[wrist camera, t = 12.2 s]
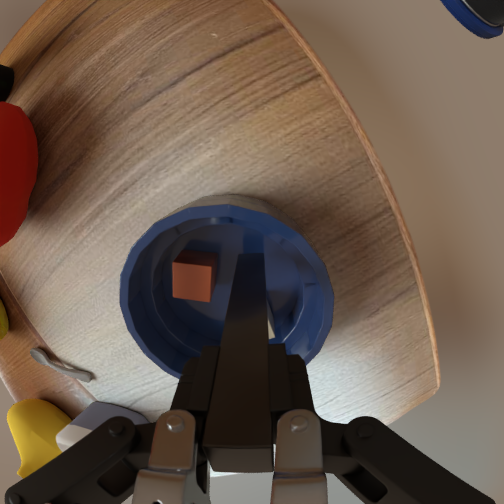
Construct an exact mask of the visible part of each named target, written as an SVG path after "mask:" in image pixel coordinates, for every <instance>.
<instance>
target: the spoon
mask: <svg viewBox="0 0 504 504" xmlns="http://www.w3.org/2000/svg"><path fill="white" fill-rule="evenodd" d="M30 354H31V356H32V357H33V358H34V359H35V360H36V361H37V362H38V363H40V364H42V365H48V366H49V367H51V368H53V369H55V370H56V371H58V372H60V373H62V374H65V375H67V376H70V377H73V378H76V379H79V380H81V381H84V382H88V383H89V382H90V381H91V379H92V378H91V374H90V373H88V372H84V371H78V370H73V369H68V368H65V367H62V366H59V365H56V364H55V363H53V362H51V361H50V359H49V358H48V356H47V354H46V353H45V352H44V351H42V350H41V349H39V348H32V349H31V350H30Z"/></svg>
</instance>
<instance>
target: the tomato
mask: <svg viewBox="0 0 504 504" xmlns="http://www.w3.org/2000/svg"><path fill="white" fill-rule="evenodd" d="M38 161H39V159H38V147H37V138H36V135H35V132H34V129H33V125H32V123H31V121H30V120H29V118H28V117H27V116H26V114H25V113H24V112H23V110H22V109H21V108H20V107H18V106H15V105H12V104H9V103H6V102H3V101H1V102H0V247H1V246H2V245H4V244H5V243H7V242H8V241H9V240H11V239H12V238H13V237H14V235H15V234H16V232H17V230H18V229H19V227H20V226H21V224H22V222H23V221H24V219H25V218H26V215H27V210H28V201H29V197H30V194H31V192H32V190H33V187H34V185H35V183H36V178H37V168H38Z"/></svg>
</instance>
